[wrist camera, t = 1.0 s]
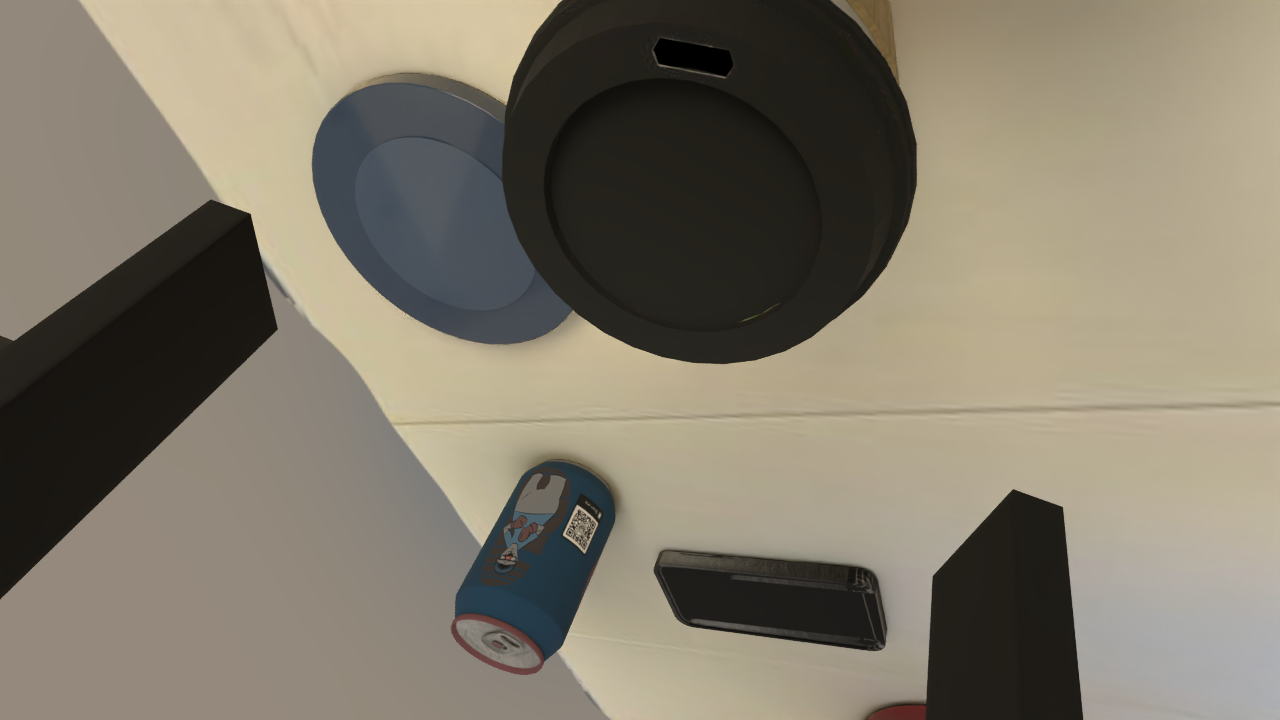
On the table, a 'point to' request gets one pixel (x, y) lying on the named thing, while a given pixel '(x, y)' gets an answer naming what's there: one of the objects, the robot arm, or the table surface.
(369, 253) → the plate
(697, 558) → the phone
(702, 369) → the table surface
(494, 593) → the soda can
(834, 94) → the coffee cup
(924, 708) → the kitchen canister
